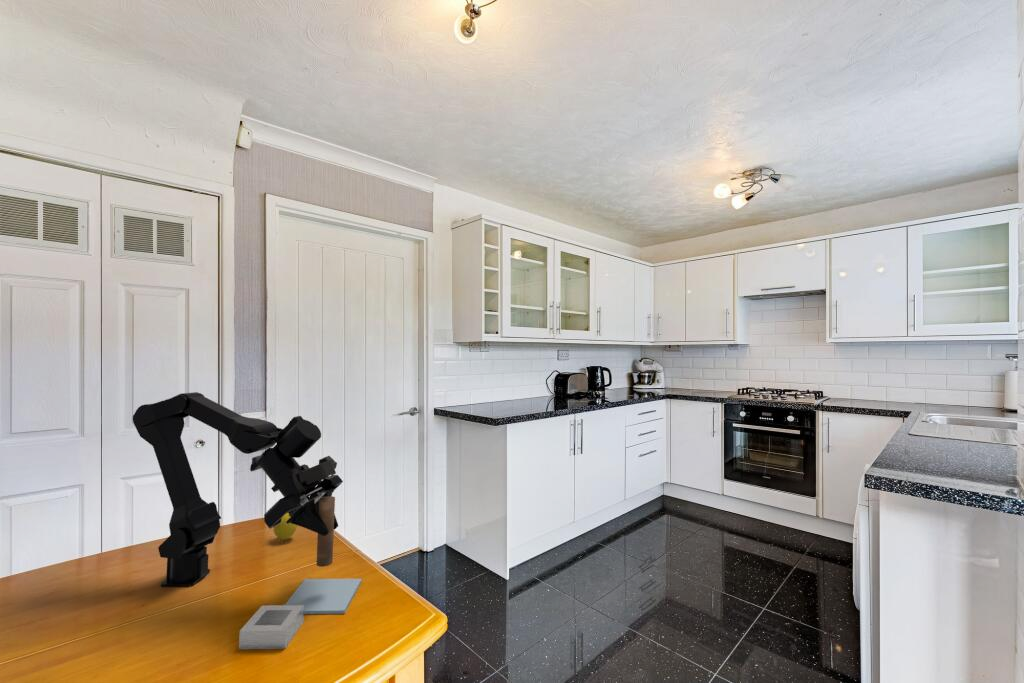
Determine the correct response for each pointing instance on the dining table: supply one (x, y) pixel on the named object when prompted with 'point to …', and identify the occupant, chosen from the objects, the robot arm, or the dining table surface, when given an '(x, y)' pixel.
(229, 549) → the dining table surface
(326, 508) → the walnut rod
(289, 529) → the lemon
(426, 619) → the dining table surface
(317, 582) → the rubber mat
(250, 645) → the collar
